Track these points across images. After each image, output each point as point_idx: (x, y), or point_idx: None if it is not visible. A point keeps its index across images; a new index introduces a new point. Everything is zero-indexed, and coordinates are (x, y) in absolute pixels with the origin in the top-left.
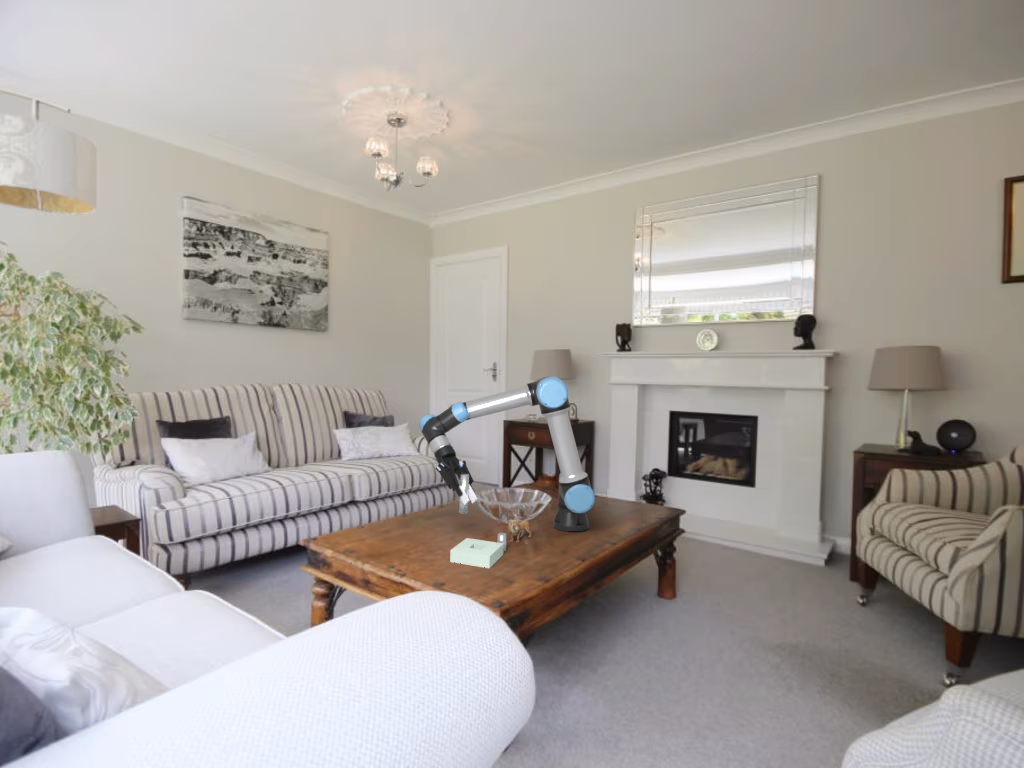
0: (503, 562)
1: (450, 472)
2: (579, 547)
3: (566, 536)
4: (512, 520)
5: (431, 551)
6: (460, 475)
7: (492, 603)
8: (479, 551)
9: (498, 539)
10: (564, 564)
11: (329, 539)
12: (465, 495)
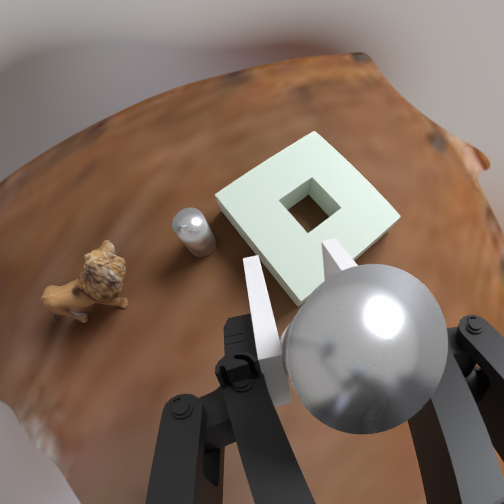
0: (255, 166)
1: (495, 498)
2: (46, 185)
3: (12, 258)
4: (99, 261)
5: None
6: (441, 354)
7: (368, 60)
8: (324, 168)
9: (208, 228)
10: (144, 116)
11: None
12: (351, 260)
